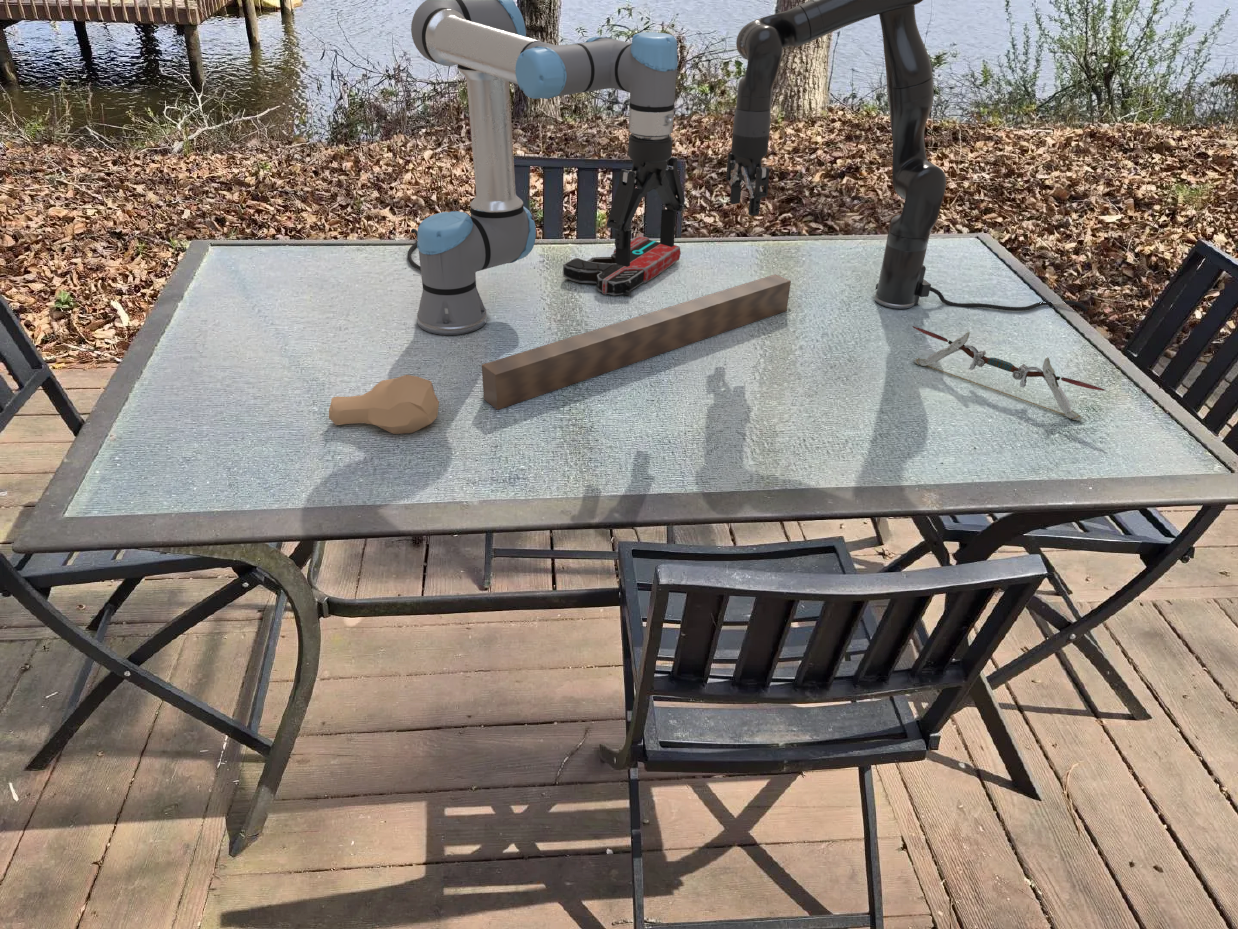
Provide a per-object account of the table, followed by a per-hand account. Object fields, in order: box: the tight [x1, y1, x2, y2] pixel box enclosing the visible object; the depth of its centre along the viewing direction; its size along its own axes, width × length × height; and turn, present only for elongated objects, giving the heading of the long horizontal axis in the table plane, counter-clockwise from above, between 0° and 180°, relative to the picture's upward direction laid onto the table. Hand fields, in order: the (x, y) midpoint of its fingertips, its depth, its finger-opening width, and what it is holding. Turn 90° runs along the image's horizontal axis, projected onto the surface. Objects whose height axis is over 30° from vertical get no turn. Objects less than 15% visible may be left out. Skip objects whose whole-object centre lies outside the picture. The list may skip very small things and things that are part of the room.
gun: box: [562, 235, 682, 297], centre depth 223 cm, size 4×31×19 cm
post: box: [481, 273, 792, 411], centre depth 185 cm, size 80×5×8 cm, turn 128°
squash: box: [328, 374, 440, 435], centre depth 157 cm, size 11×20×9 cm, turn 90°
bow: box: [912, 325, 1106, 421], centre depth 173 cm, size 39×2×10 cm, turn 47°
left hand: (645, 254), depth 161 cm, fingers open, 13 cm apart
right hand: (743, 209), depth 190 cm, fingers open, 8 cm apart
